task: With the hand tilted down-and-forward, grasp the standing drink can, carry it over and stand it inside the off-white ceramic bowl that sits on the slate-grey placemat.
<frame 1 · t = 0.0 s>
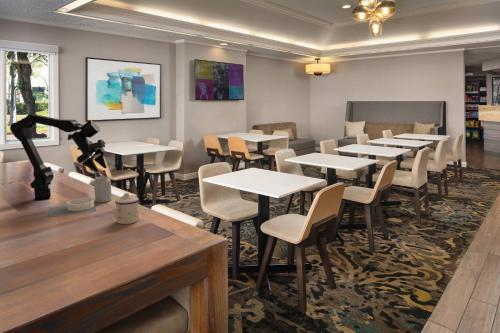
hand: (101, 169, 184), 15 cm above the table, tool tilted 35°, fingers open, 9 cm apart
can: (103, 201, 183), on the table
placemat: (72, 210, 168), on the table
teacup with lid: (125, 222, 153), on the table
bowl: (80, 207, 171), resting on placemat
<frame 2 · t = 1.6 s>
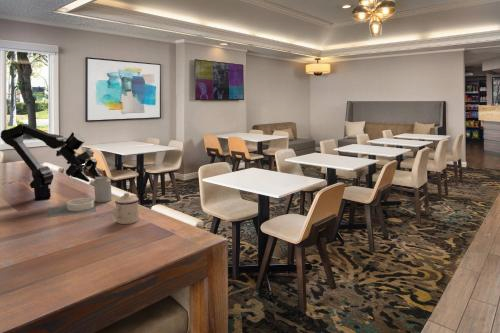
hand: (94, 179, 182), 11 cm above the table, tool tilted 45°, fingers open, 9 cm apart
nothing on the table moved.
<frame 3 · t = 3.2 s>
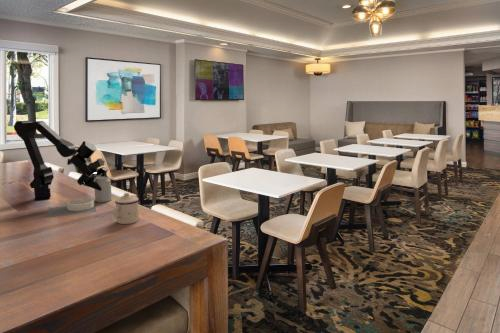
hand: (105, 188, 182), 7 cm above the table, tool tilted 45°, fingers closed on can, 7 cm apart
can: (103, 201, 183), on the table, touching gripper
everything else where it was.
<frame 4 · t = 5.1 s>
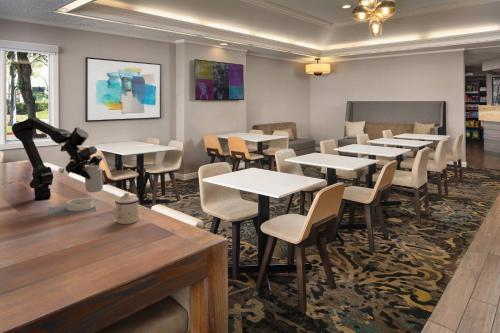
hand: (95, 177, 175), 13 cm above the table, tool tilted 45°, fingers closed on can, 7 cm apart
can: (94, 191, 177), point 6 cm above the table, touching gripper
everything else where it was.
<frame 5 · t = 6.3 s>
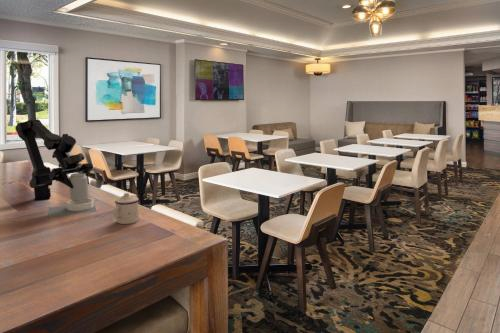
hand: (80, 185, 169), 11 cm above the table, tool tilted 45°, fingers closed on can, 7 cm apart
can: (79, 200, 171), point 4 cm above the table, touching gripper
everything else where it was.
when the fingers open (9 cm above the table, at t = 7.2 s): can drops 1 cm, resting on bowl.
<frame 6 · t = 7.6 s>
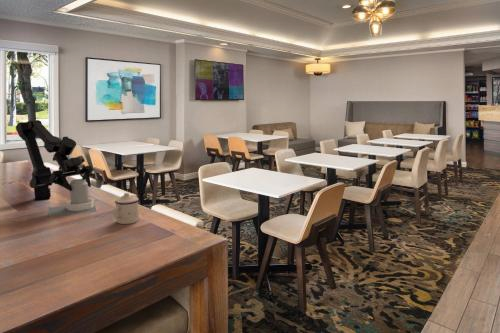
hand: (81, 188, 169), 10 cm above the table, tool tilted 45°, fingers open, 9 cm apart
can: (80, 206, 171), point 1 cm above the table, touching bowl
everything else where it was.
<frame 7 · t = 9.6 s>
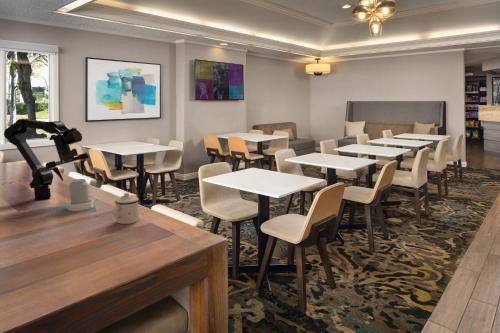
hand: (73, 178, 182), 11 cm above the table, tool tilted 15°, fingers open, 9 cm apart
nothing on the table moved.
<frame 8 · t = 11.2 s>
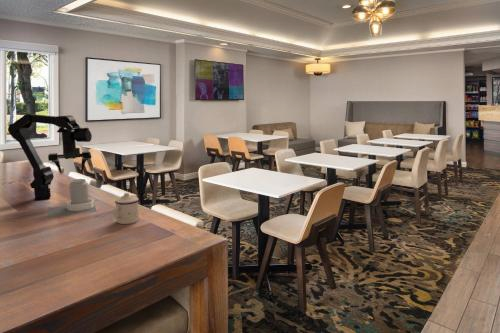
hand: (71, 173, 185), 13 cm above the table, tool pointing down, fingers open, 9 cm apart
nothing on the table moved.
at the end: can 0.2 cm from the bowl (horizontally); can tilted 0°; the gripper is holding nothing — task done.
